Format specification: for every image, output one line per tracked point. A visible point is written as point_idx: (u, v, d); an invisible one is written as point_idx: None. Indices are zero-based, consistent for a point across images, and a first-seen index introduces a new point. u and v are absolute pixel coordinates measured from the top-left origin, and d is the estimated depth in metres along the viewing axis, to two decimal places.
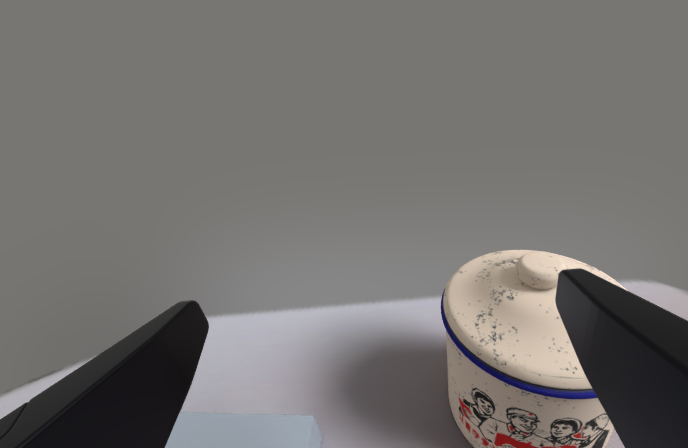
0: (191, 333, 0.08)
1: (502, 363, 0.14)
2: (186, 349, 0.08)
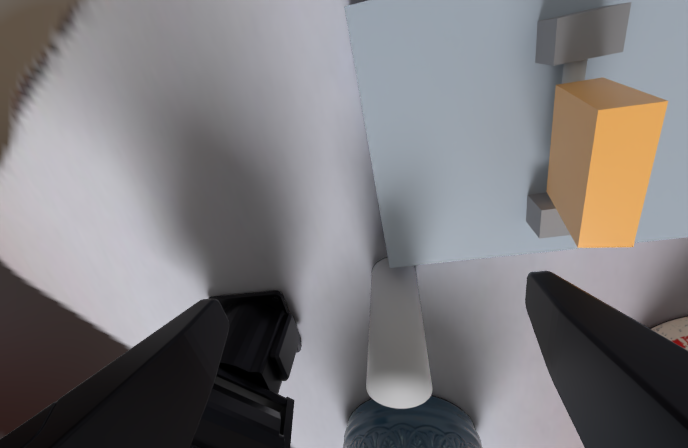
0: (213, 332, 0.08)
1: None
2: (209, 348, 0.08)
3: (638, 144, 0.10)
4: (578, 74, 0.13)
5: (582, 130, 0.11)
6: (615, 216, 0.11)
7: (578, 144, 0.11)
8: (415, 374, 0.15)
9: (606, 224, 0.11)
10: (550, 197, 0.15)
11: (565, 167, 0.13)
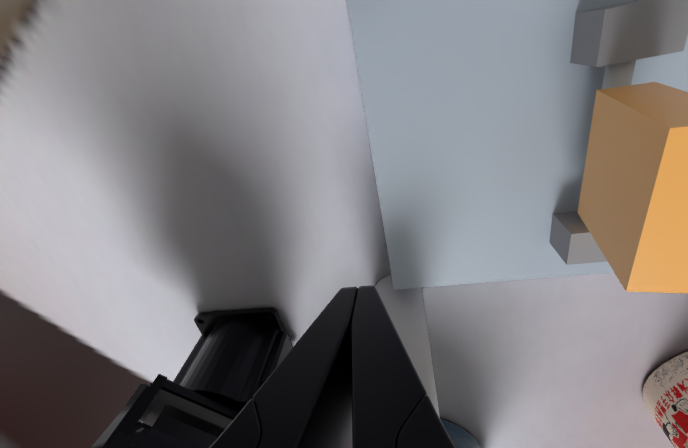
0: None
1: None
2: None
3: None
4: (624, 77, 0.11)
5: (639, 150, 0.09)
6: (678, 257, 0.09)
7: (631, 165, 0.09)
8: None
9: (665, 266, 0.09)
10: (583, 220, 0.13)
11: (609, 190, 0.11)
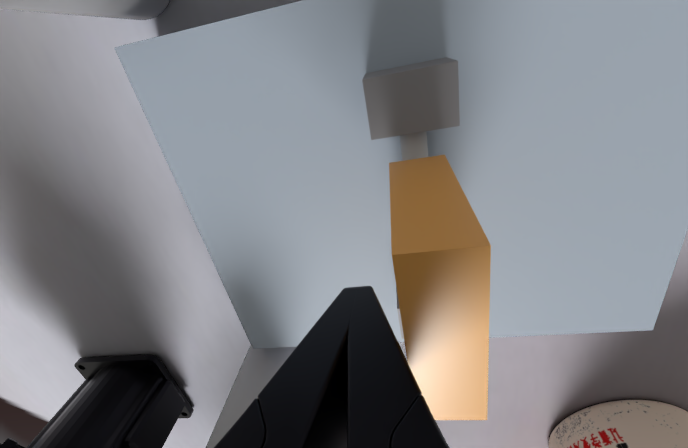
0: None
1: None
2: None
3: (462, 301, 0.06)
4: (414, 148, 0.10)
5: None
6: (454, 386, 0.07)
7: None
8: None
9: (445, 395, 0.07)
10: None
11: None
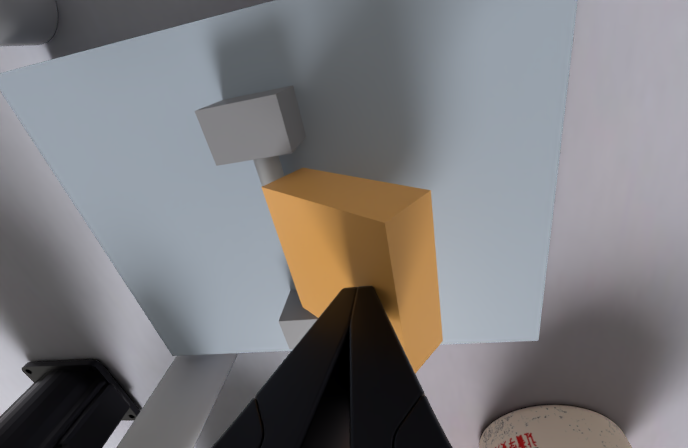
0: None
1: None
2: None
3: (422, 244, 0.08)
4: (265, 172, 0.10)
5: (354, 245, 0.08)
6: (426, 324, 0.09)
7: (351, 261, 0.08)
8: None
9: (422, 337, 0.09)
10: (315, 314, 0.11)
11: (334, 285, 0.09)
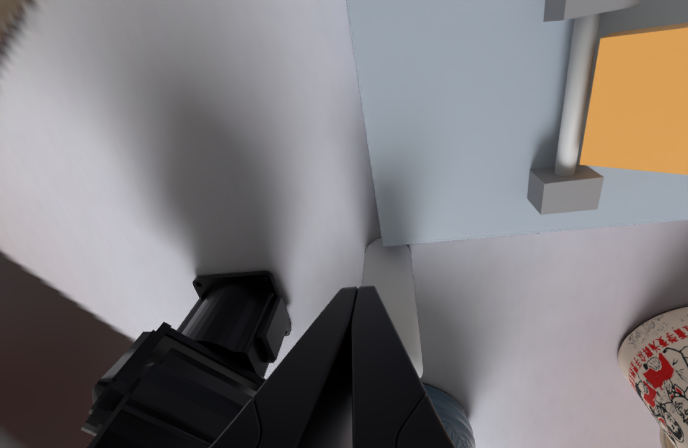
0: None
1: None
2: None
3: None
4: (590, 32, 0.12)
5: None
6: None
7: None
8: None
9: None
10: (602, 165, 0.14)
11: (672, 113, 0.11)
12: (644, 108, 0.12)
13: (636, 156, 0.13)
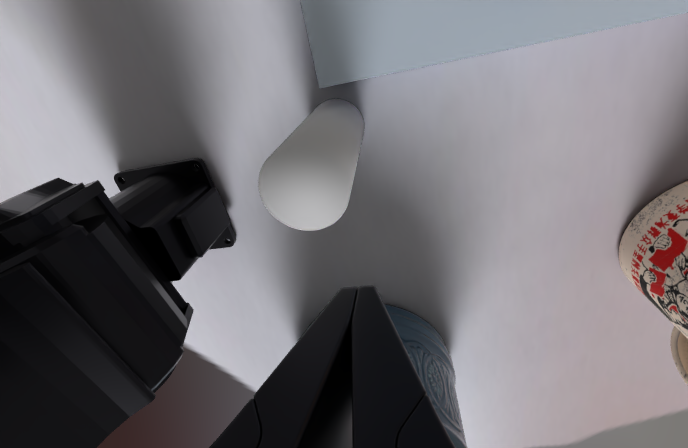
0: None
1: None
2: None
3: None
4: None
5: None
6: None
7: None
8: (322, 159, 0.11)
9: None
10: None
11: None
12: None
13: None
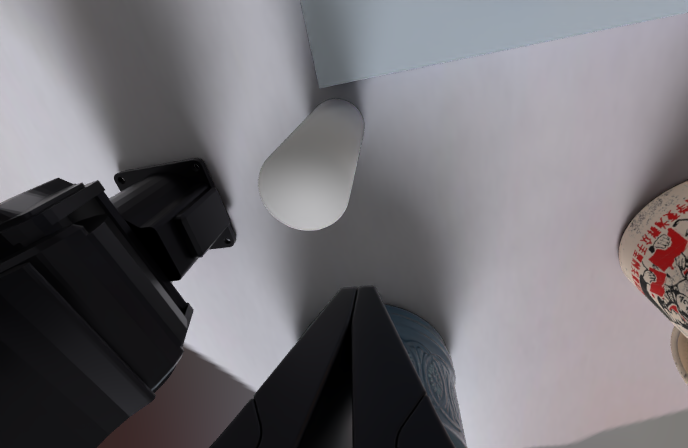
0: None
1: None
2: None
3: None
4: None
5: None
6: None
7: None
8: (322, 159, 0.11)
9: None
10: None
11: None
12: None
13: None
